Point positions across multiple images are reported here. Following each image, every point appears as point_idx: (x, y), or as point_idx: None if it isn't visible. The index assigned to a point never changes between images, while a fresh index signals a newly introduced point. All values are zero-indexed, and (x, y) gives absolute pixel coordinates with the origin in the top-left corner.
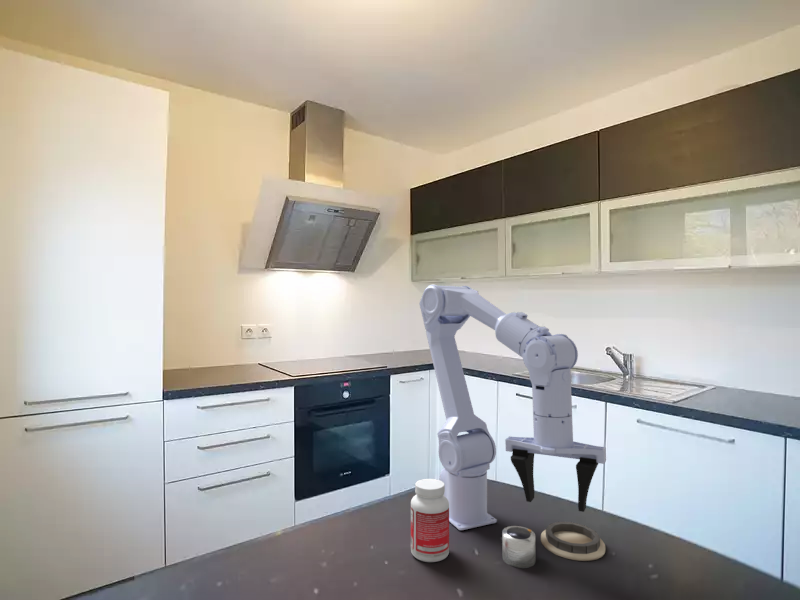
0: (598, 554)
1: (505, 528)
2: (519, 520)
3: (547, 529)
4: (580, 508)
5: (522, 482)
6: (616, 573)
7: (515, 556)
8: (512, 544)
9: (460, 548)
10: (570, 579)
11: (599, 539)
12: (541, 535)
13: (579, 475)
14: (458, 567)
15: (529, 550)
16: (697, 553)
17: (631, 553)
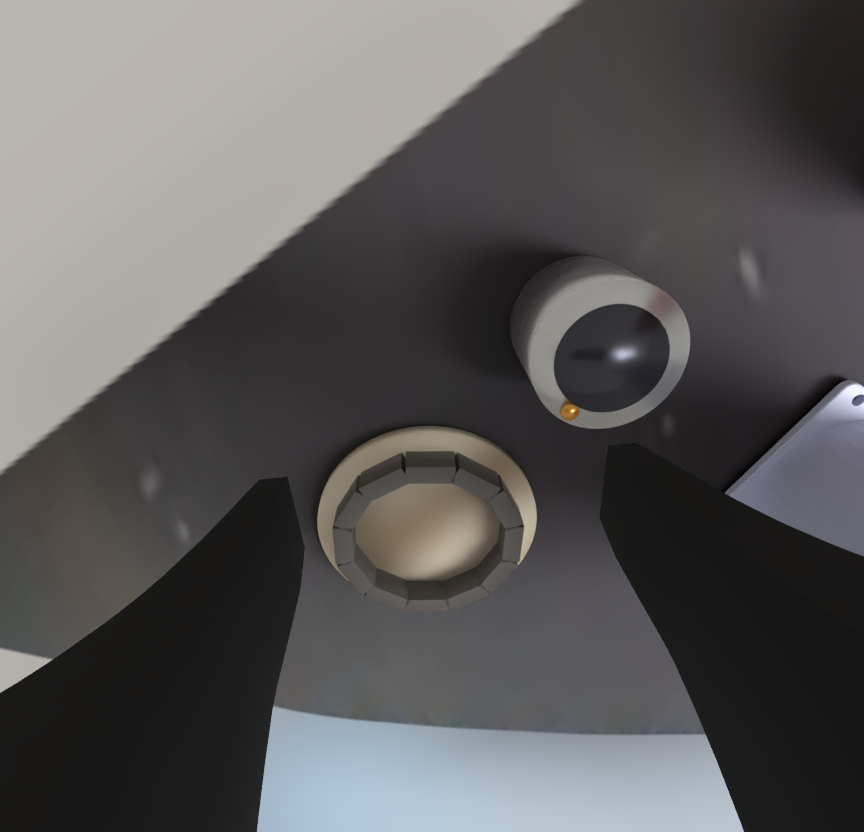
0: (324, 492)
1: (679, 368)
2: None
3: (517, 524)
4: (268, 486)
5: (744, 506)
6: (246, 431)
7: (585, 265)
8: (617, 275)
9: (822, 254)
10: (362, 300)
11: (335, 557)
12: (533, 503)
13: (121, 693)
14: (809, 90)
15: (536, 308)
16: None
17: None
